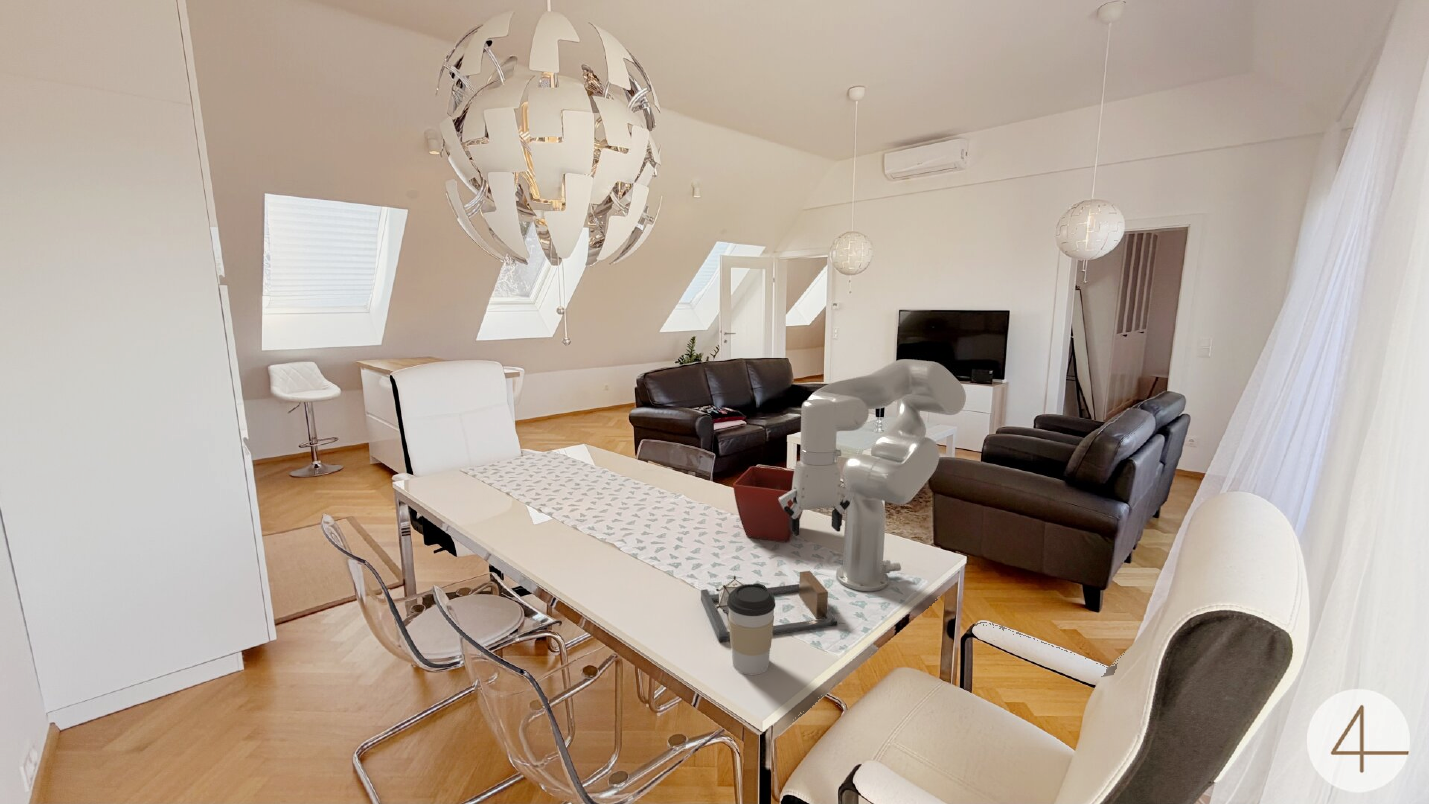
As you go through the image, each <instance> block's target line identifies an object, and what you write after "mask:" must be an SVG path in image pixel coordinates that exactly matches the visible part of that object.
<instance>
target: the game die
mask: <svg viewBox="0 0 1429 804" xmlns="http://www.w3.org/2000/svg"><path fill="white" fill-rule="evenodd" d="M741 585H744V584H743V583H741V582H740V581H738V580H737V576H736V575H734V576H733V579H732V580H731V581H729V582H728V583H727V584H723V585H722V587H721V588H720V589H719V588H715V590H716V592H718V594H719V601H718V605H715V607H716V609H717V610H718V609H721V610H722V612H724V613H726V614H727V615H728V614H729V607H728V605H727V601H728V596H729V594H730V593H731V592H732V591H733V590H734V589H735V588H736V587H738V586H741Z"/></svg>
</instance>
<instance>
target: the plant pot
mask: <svg viewBox="0 0 1429 804" xmlns="http://www.w3.org/2000/svg"><path fill="white" fill-rule="evenodd" d="M793 476H794V470H791V469H784V468H783V469H782V468H773V467H765V466H764V467H763V466H754V465H753V466H749V467H748V469H747V470H746V471H744V473H742V474H741V476H740V477H739V478H737V480H736V481H734V482H733V484H732V486H733V487H732V488H733V493H734V500H735V503H736V508H737V512H738V516H739V519H740V522H741V525H742V528H743V531H744V533H745V536H746V537H749V538H754V539H759V540H760V539H761V540H767V541H768V540H769V541H772V542H773V541H774V542H780V543H789V542H790V541H791V539H792V537H793V535H794V534H793V532H792V531H791V530H790V515H789V514H788V513H787V512H785V510H784V509H783V508H782V506H781V504H780V502H779V500H778V499H779V497H781V496H783V495H784V494H786V493H788V492H789V491H791V490H792V483H793ZM787 504H788V506H789V507H790V508H791V506H792V505H793V504H794V503H793V502H792V500H789V501H788V502H787ZM803 511H804V510H803ZM803 511H802V512H801V513H800V514H799V516H798V518H799V519H800V520H801V517H802V515H803Z"/></svg>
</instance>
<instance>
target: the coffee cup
mask: <svg viewBox="0 0 1429 804" xmlns="http://www.w3.org/2000/svg"><path fill="white" fill-rule="evenodd" d="M767 588H768V587H766V586H765V584H764V585H763V584H762V583H758V582H756V583H753V584H750V583H747V584H743V585H741V586H738V587H736V588H735V589H734V590H733V591H732V592H731V593H730V594H729V596H728V601H727V605H728V607H729V614H728V613H727V616H728V617H727V618H728V626H729V630H728V631H729V632H730V646H731V647H730V648H731V659H732V665H733V666H732V667H734V670H737V671H738V672H739V673H741V674H745V675H749V676H750V675H751V676H752V675H754V676H755V675H759V674H762V673H764V672H766V671H767V669H768V668H769V662H770V652H771V648H772V642H773V641H772V639H773V635H772V632H773V626H774V623H775V622H774V621H775V615H774V614H775V608H776V598H775V596H774V594H773V595H772V594H771V593H770V592H768V590H767Z"/></svg>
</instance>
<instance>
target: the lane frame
mask: <svg viewBox="0 0 1429 804" xmlns="http://www.w3.org/2000/svg"><path fill="white" fill-rule="evenodd" d="M798 581H799V583H798V584H797V583H796V584H789V585H782V586H781V585H780V586H772V587H766V588H767V590H768V592H770V593H771V594H772V595H773V596H774V595H780V594H787V593H796V592H798V596H799V597H800V599H801V600H802V601H803V604H804V605H805V606H806V607H807V609H809V611H810V612H811V614H812V615H813V616H814V618H815V619H813V620H805V621H799V622H798V621H797V622H792V623H784V624H776V625H775V624H774V625H773V632H772V636H774V635H779V634H787V633H793V632H800V631H807V630H815V629H821V628H827V627H835V626H838V619H836V617H835V616H834V615H833V614H832V612H830V611H829V609H828V600H829V599H828V596H829V591H828V590H827V589H826V587H824V585H823V584H822V583H821V582H820V581H819V580H818V578H817V577H816V576H815V575H814V574H813V572H812V571H810V570H805V571H799V580H798ZM700 601H701V603H702V605H703V609H704V610H705V612H706V615H707V618H708V620H709V624H711V627H712V629H713V632H714V635H715V637H716V639H717V641H718V643H722V642H729V641H730V631H727V629H726V627H725V625H724V623H723V621H722V617H721V616H720V613H719V612H718V609H716V605H715V602H719V593H715V594H710V592H709V589H707V588H706V589H701V590H700Z"/></svg>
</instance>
